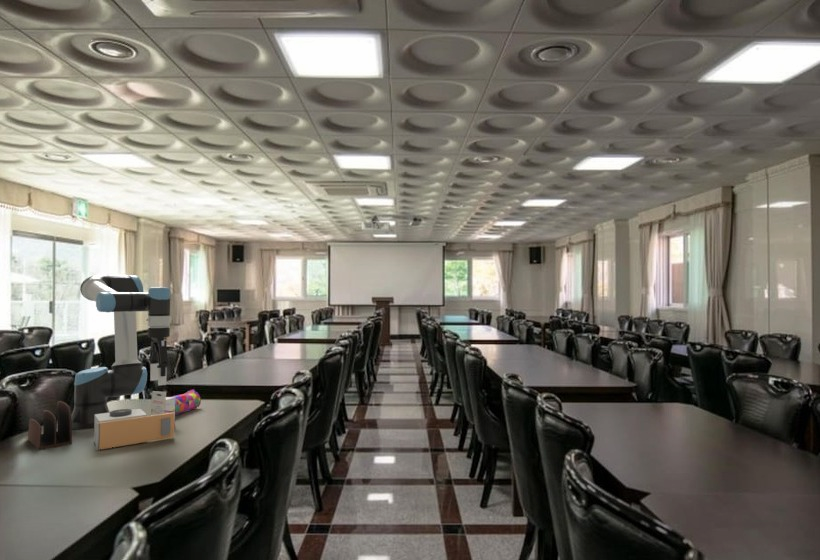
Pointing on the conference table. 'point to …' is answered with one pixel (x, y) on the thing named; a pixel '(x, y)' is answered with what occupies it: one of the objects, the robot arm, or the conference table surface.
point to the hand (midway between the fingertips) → (158, 382)
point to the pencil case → (186, 402)
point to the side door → (134, 430)
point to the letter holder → (52, 428)
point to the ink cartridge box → (162, 404)
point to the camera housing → (117, 417)
